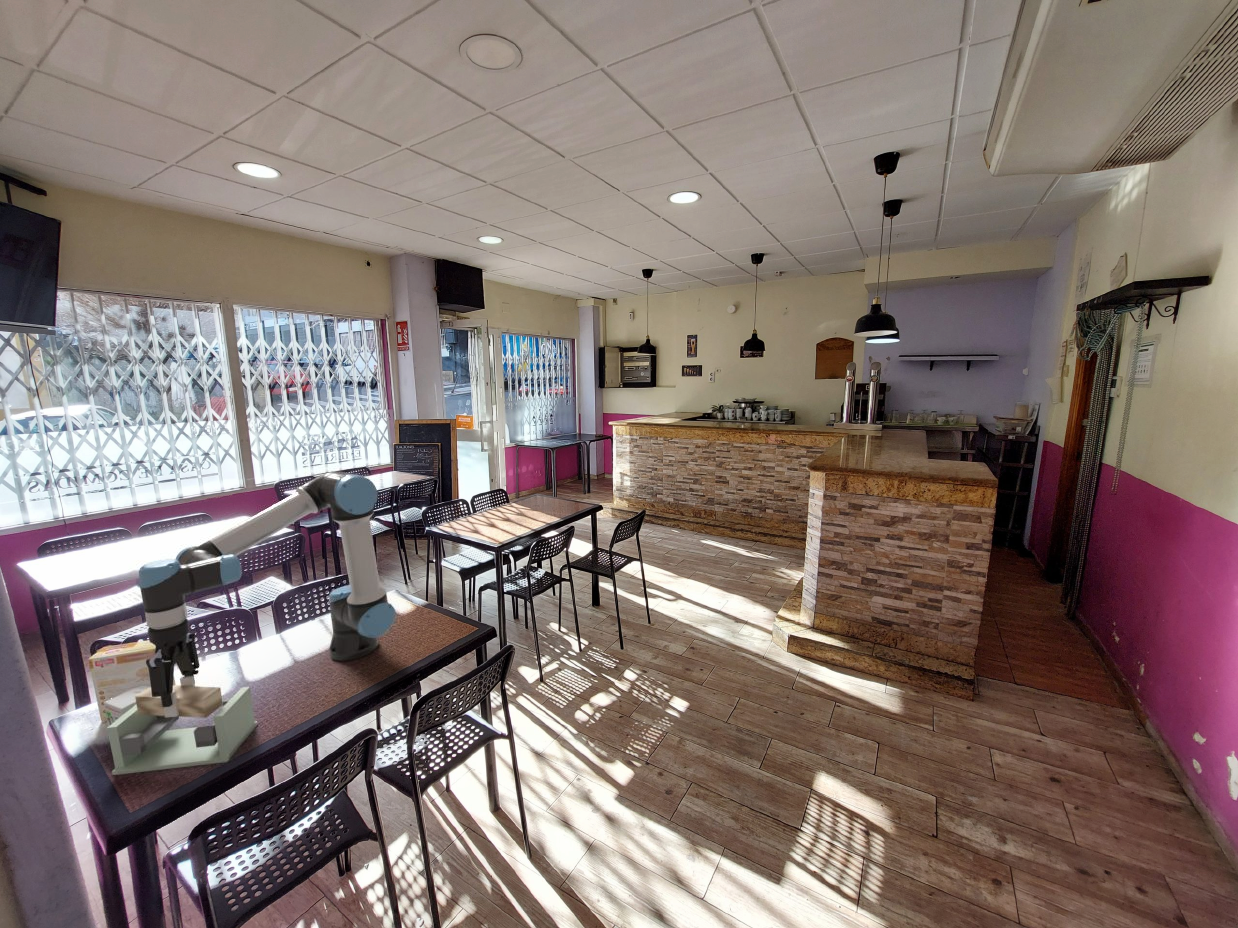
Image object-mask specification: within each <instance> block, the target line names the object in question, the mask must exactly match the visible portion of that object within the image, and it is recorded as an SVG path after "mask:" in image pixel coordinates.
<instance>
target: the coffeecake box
mask: <svg viewBox="0 0 1238 928" xmlns="http://www.w3.org/2000/svg"><path fill="white" fill-rule="evenodd" d="M155 648H156V646H155V645H154V644H152V643H150V641H149V639H147V640H142V641H137V642H129V643H122V644H117V645H109V646H102V648H100V649H99V650H97V652H95V653H94V654H92V655H91V656H90V657H89V658H88V664H89V670H90V673H91V675H90V676H91V680H92V683H93V689H94V693H95V698H96V702H97V707H98V712H99V717H100V718H99V719H100V721H101V723H106V722H108V721H107V716H106V711H105V706H104V702H105V701H107V700H109V699H111V698H114V697H116V696H118V695H120V694H122V693H125V692H127V691H129V690H131V689H133V688H135V687H137V686H139V685H145V686H148V687H151V684H150V675H149V668H148V666H147V664H146V660H147V659H152V658H153V657H154V655H155ZM164 662H168V661H164ZM173 685H176V680H175V676H174V677H173Z"/></svg>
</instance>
